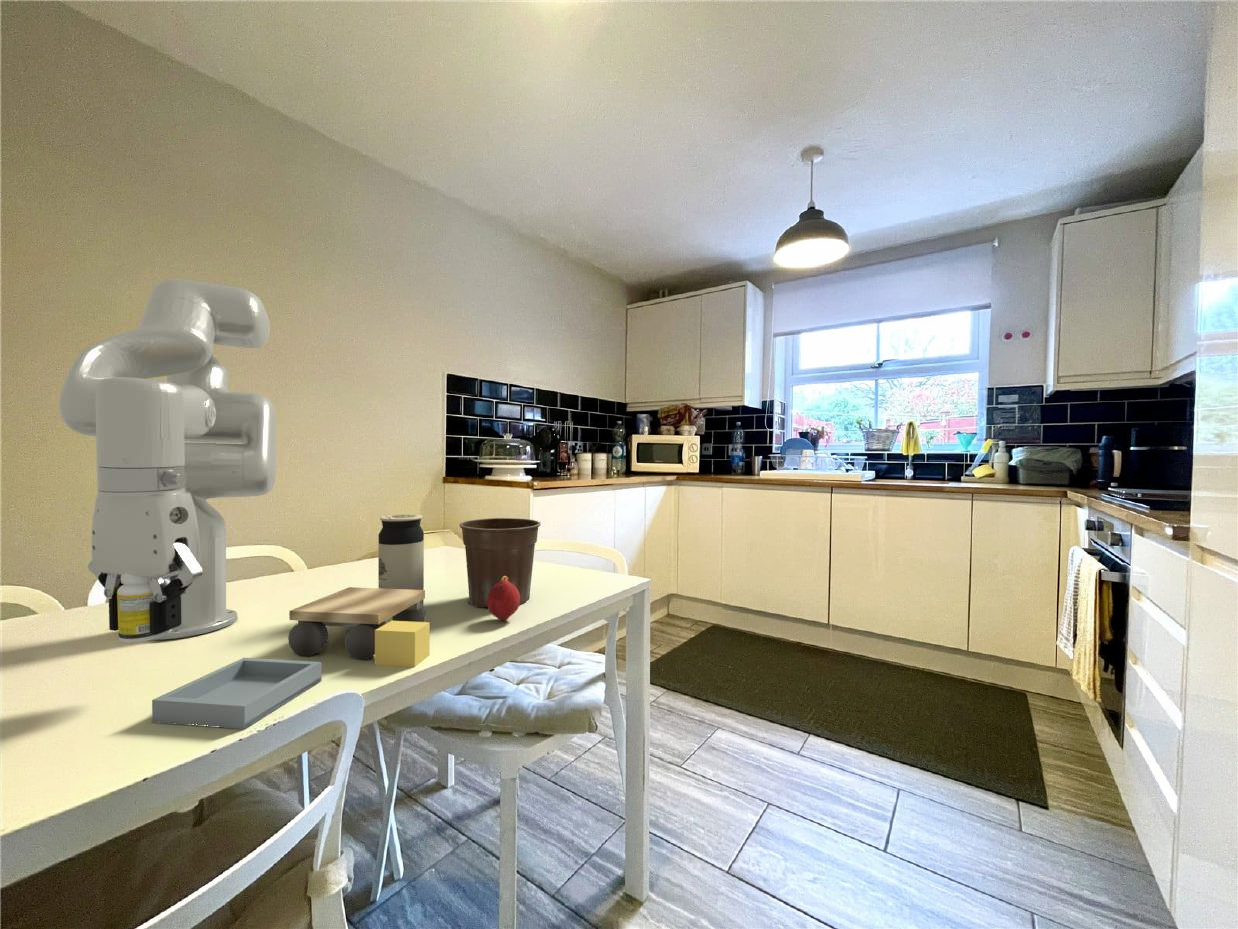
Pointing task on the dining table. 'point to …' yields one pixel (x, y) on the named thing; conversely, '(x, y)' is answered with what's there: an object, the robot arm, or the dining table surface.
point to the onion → (503, 599)
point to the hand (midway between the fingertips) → (146, 626)
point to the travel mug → (401, 553)
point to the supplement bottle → (135, 609)
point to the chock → (402, 643)
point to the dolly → (353, 618)
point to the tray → (237, 693)
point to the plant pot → (499, 555)
